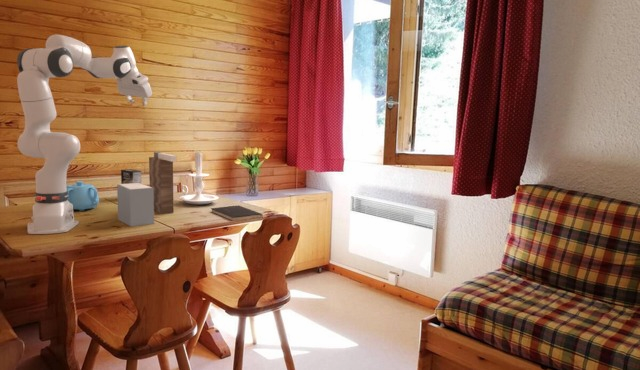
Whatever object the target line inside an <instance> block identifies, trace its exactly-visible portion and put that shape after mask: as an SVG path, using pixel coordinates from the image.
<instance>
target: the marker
mask: <svg viewBox="0 0 640 370" xmlns="http://www.w3.org/2000/svg"><path fill="white" fill-rule="evenodd" d="M153 157H154V158H158V159H163V160H167V161H171V162H173V163H174V162H177V160H178V159H177V158H178V156H177V155H176V154H170V153H164V152H160V151H155V152H153Z"/></svg>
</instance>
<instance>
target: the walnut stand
mask: <svg viewBox="0 0 640 370" xmlns="http://www.w3.org/2000/svg"><path fill="white" fill-rule="evenodd" d="M148 164H149V165H148V166H149V168H148V170H149V176H148V177H149V187H152V188H153V193H154V213H155V212H156V213H157V214H160V215H166V214H173V213H174V210H175V209H174V161H173V162H171V161H167V160H163V159H158V158H154V156H151V157H148Z"/></svg>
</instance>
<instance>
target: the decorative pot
mask: <svg viewBox="0 0 640 370" xmlns="http://www.w3.org/2000/svg"><path fill="white" fill-rule="evenodd" d="M67 191H68V201H69V202H70V203H71V204H72V205H73V210H78V212H85V211H86V210H91V209H92V210H93V209H94V208H95V207H97V206H98V205H99V203H100V198H99V194H98V193H99V192H98V189H97V188H96V187H95V186H94V185H93V184H91V183H90V184H84V181H81V180H78V181H76V182H75V184H67Z"/></svg>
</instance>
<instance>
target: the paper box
mask: <svg viewBox="0 0 640 370" xmlns="http://www.w3.org/2000/svg"><path fill="white" fill-rule="evenodd" d="M116 188H117V191H116V192H117V193H116V194H117V195H116V196H117V219H118V221H120V222H121V223H124V224H126V225H127V226H129V227H138V226H145V225H147V226H148V225H153V224H155V211H154V193H153V188H152V187H150V185H146V184H143V183H142V182H141V183H129V184H121V183H118V184H117V185H116Z"/></svg>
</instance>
